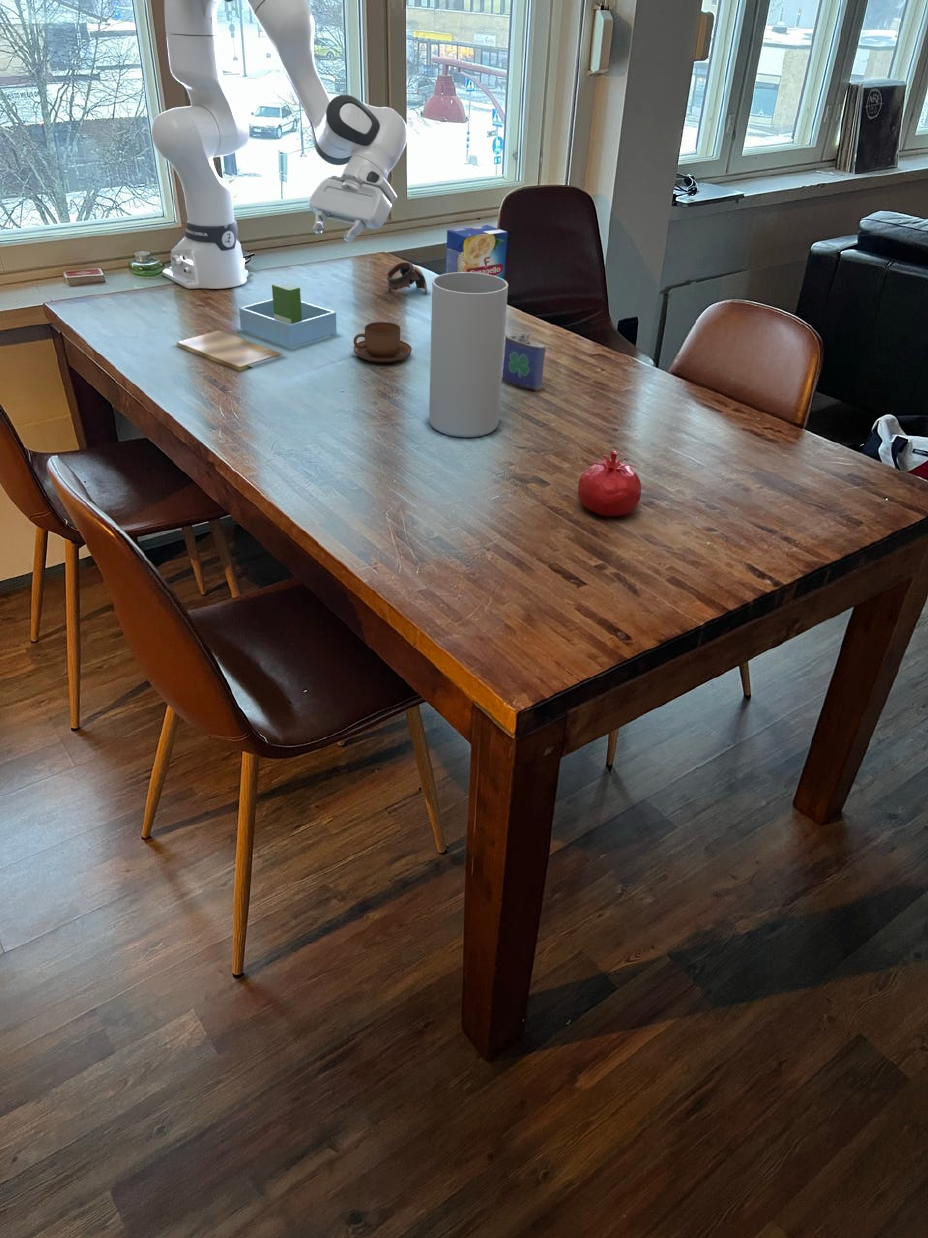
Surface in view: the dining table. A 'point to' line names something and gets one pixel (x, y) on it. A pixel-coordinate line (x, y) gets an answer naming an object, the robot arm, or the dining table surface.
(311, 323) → the basin
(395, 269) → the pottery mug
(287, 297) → the block
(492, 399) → the cylinder vase
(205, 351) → the board
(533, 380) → the flask
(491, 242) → the blue food box
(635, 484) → the pomegranate
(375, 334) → the cup and saucer
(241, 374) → the dining table surface
